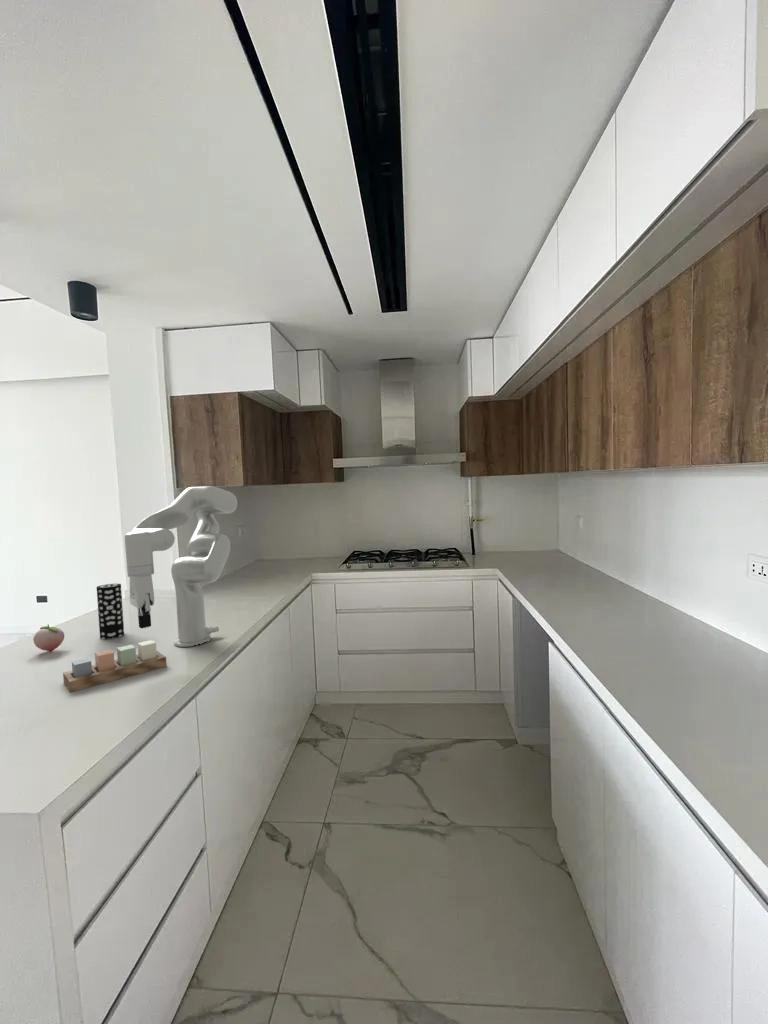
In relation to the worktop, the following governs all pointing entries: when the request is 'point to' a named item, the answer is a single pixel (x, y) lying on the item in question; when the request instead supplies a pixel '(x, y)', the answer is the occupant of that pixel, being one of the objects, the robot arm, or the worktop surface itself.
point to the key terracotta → (104, 660)
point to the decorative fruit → (48, 638)
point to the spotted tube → (110, 611)
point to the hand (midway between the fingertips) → (145, 626)
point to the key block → (113, 672)
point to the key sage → (126, 655)
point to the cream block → (147, 650)
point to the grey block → (81, 667)
